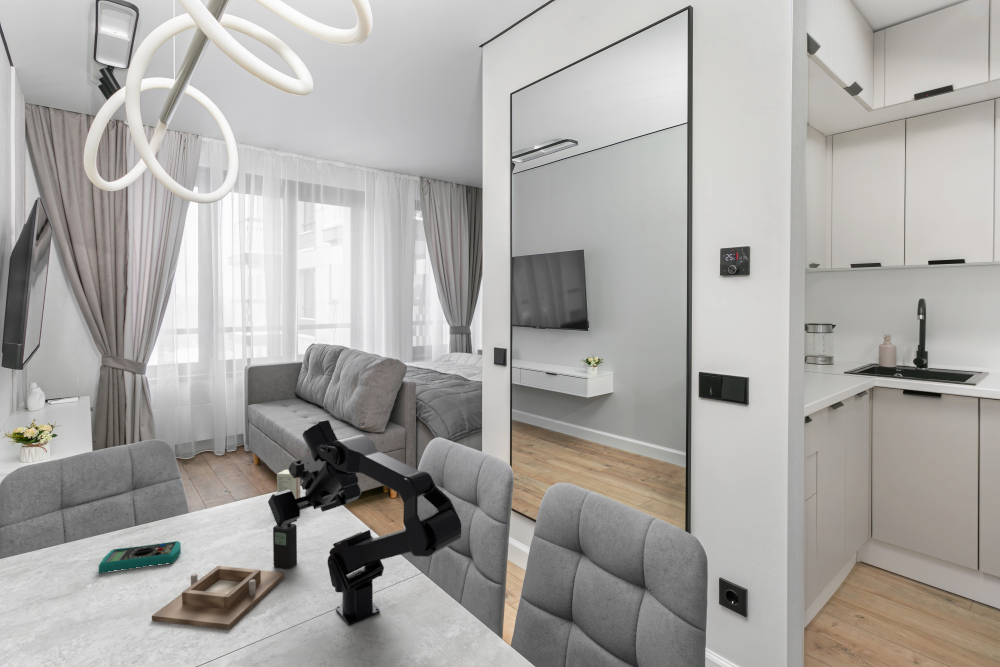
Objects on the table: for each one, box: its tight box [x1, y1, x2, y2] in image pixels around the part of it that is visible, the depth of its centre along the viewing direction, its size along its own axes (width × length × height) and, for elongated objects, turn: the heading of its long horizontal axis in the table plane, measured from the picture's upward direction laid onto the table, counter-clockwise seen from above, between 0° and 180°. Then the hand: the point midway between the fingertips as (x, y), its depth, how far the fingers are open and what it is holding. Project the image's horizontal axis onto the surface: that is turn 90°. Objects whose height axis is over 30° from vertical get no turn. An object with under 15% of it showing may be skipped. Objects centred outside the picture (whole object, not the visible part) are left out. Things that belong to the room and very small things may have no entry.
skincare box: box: [276, 468, 302, 499], centre depth 149 cm, size 5×4×10 cm
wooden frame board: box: [151, 565, 286, 631], centre depth 101 cm, size 16×18×4 cm
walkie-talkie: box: [272, 523, 298, 570], centre depth 114 cm, size 5×3×15 cm
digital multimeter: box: [98, 540, 181, 574], centre depth 115 cm, size 7×15×3 cm, turn 110°
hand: (302, 516), depth 109 cm, fingers open, 9 cm apart
